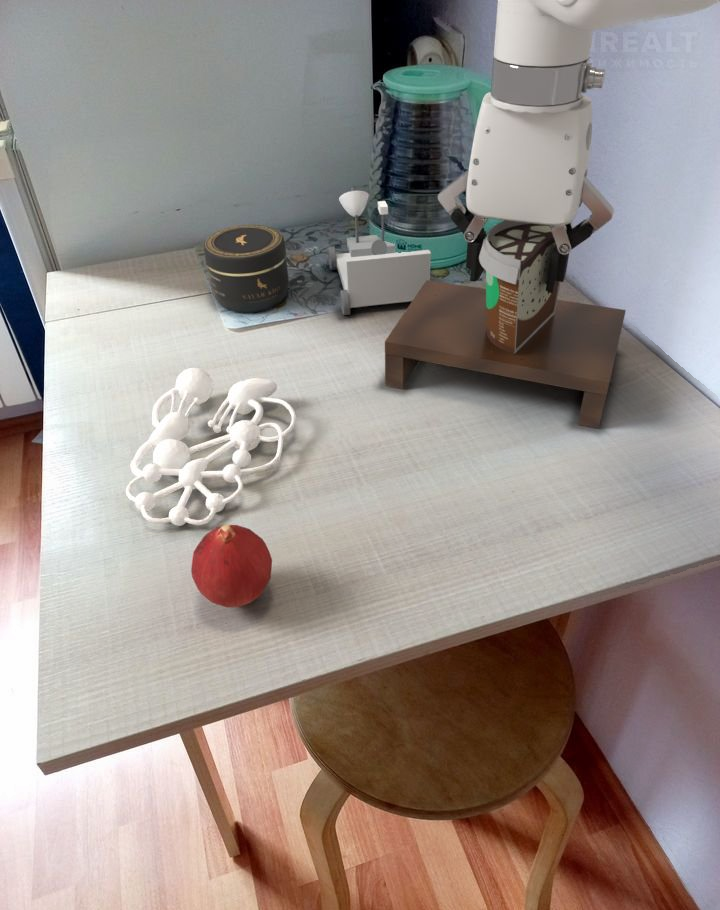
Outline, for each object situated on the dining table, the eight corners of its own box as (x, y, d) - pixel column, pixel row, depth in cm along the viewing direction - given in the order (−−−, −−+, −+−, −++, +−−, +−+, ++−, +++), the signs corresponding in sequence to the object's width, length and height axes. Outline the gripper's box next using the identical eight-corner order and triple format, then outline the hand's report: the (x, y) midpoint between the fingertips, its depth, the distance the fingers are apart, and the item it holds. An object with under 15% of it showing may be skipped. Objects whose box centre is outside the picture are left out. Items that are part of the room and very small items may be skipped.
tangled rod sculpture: (250, 552, 59) (246, 520, 56) (90, 520, 61) (79, 487, 58) (309, 409, 73) (309, 377, 70) (178, 386, 75) (172, 354, 72)
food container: (508, 294, 78) (517, 204, 72) (560, 308, 75) (574, 215, 69) (451, 343, 71) (455, 247, 64) (507, 361, 68) (517, 262, 61)
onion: (187, 616, 53) (164, 545, 48) (223, 561, 57) (206, 490, 52) (256, 638, 52) (240, 567, 46) (289, 579, 56) (278, 507, 50)
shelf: (615, 354, 78) (625, 309, 75) (598, 429, 68) (609, 382, 65) (425, 321, 85) (426, 279, 81) (385, 386, 75) (384, 341, 71)
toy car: (321, 185, 93) (408, 177, 94) (326, 255, 99) (407, 247, 100) (339, 242, 79) (440, 232, 80) (344, 319, 86) (437, 309, 87)
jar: (230, 324, 86) (220, 265, 81) (201, 291, 92) (190, 235, 87) (303, 301, 89) (298, 244, 84) (271, 271, 96) (264, 216, 91)
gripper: (652, 76, 58) (609, 276, 70) (448, 65, 63) (440, 253, 75) (644, 101, 53) (599, 313, 64) (422, 87, 58) (418, 285, 70)
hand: (514, 279), depth 70 cm, fingers closed on food container, 6 cm apart
